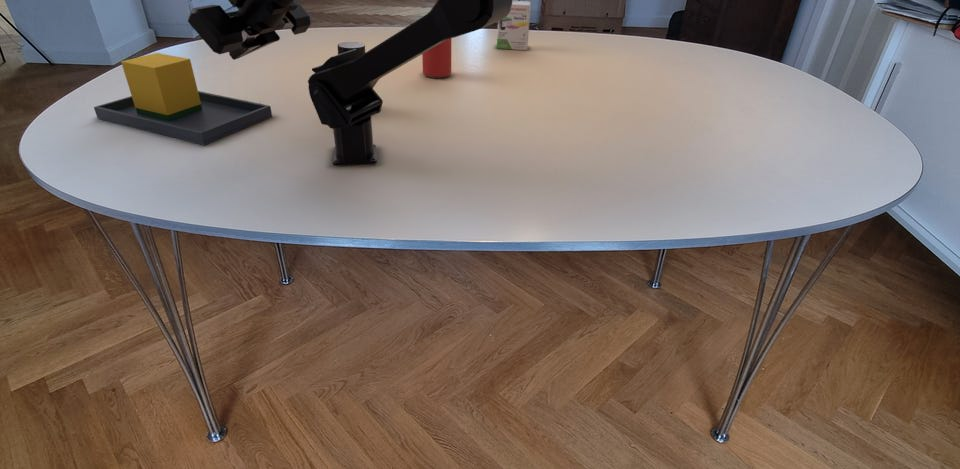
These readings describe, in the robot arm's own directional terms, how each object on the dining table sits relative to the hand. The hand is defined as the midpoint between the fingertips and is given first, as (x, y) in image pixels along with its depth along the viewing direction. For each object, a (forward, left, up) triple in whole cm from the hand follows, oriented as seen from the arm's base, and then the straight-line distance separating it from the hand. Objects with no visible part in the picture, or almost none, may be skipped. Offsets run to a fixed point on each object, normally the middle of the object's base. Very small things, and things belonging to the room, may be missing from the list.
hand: (233, 56), depth 85 cm
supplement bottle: (+10, -18, -13) cm, 24 cm away
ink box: (+59, -60, -13) cm, 85 cm away
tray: (+8, +12, -12) cm, 19 cm away
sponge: (+10, +15, -12) cm, 22 cm away
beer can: (+33, -36, -13) cm, 50 cm away
